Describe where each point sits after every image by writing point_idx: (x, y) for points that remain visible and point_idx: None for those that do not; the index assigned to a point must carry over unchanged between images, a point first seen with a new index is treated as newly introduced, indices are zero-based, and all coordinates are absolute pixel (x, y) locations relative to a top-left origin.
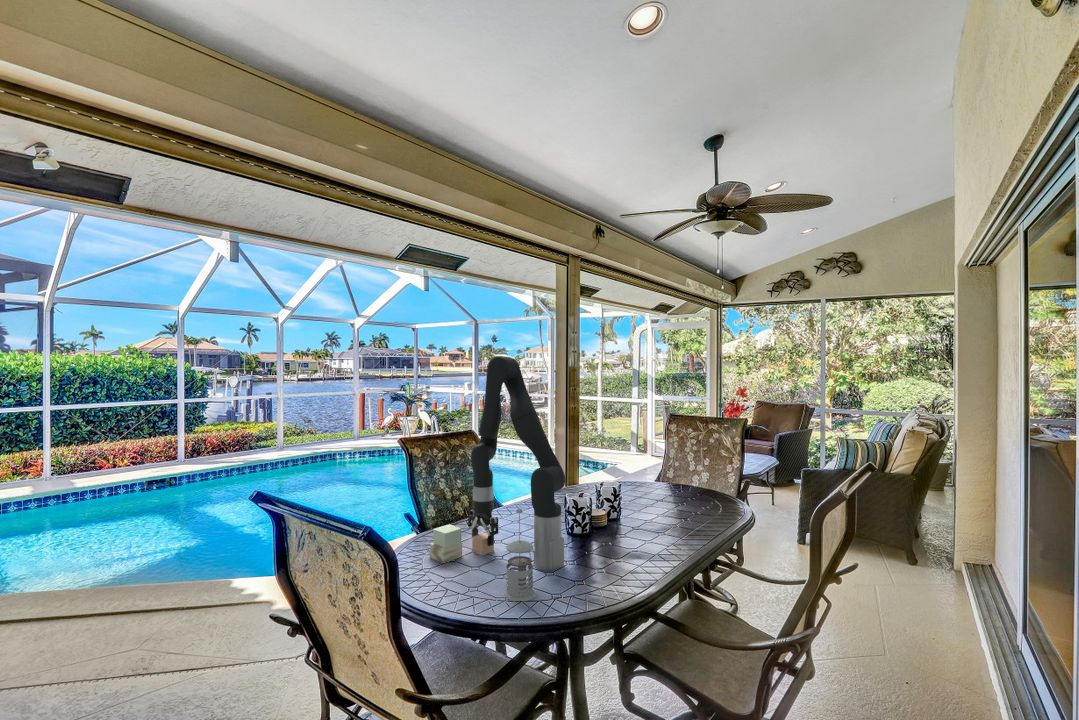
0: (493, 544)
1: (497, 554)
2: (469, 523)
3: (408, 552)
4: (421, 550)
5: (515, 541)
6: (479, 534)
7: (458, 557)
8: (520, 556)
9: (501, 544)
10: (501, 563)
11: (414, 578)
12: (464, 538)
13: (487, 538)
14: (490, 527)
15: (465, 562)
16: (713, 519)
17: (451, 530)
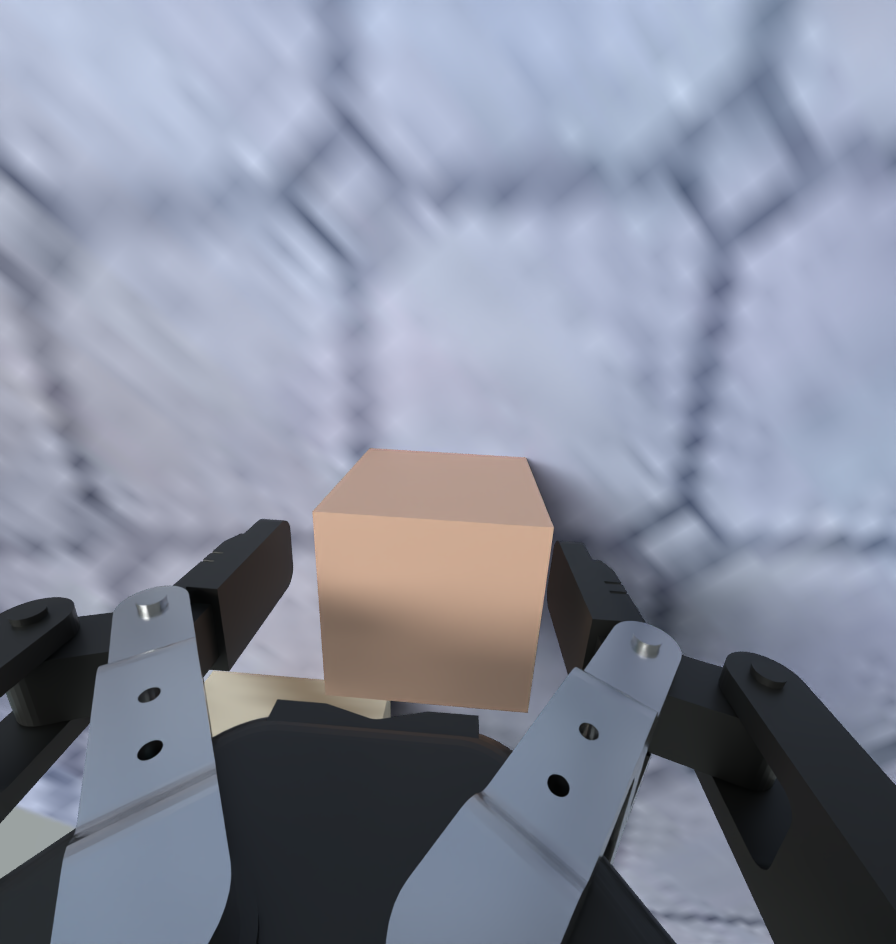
0: (534, 487)
1: (616, 499)
2: (47, 754)
3: (69, 807)
4: (84, 754)
5: None
6: (328, 595)
7: (389, 715)
8: None
9: (458, 250)
10: (776, 620)
11: None
12: (17, 392)
13: (537, 637)
14: (636, 785)
15: (500, 740)
16: None
17: None
